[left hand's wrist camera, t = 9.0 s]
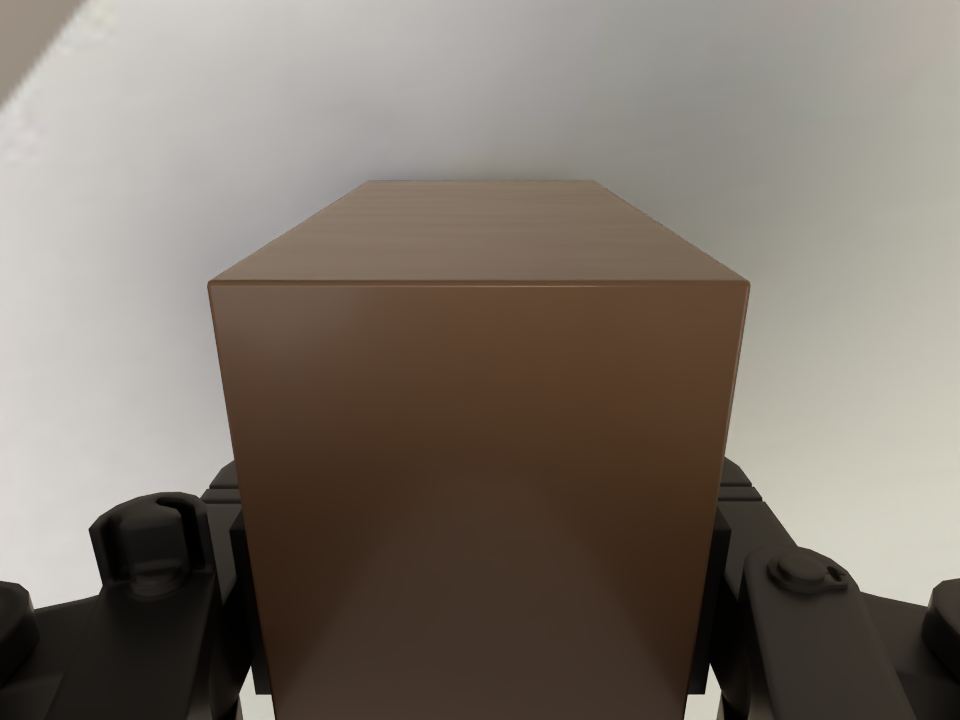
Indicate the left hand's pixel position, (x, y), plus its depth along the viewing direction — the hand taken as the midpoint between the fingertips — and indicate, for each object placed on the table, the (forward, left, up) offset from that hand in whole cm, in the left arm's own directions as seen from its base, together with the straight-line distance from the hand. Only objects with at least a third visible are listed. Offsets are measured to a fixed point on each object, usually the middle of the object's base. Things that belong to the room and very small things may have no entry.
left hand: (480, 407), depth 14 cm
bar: (+23, +25, -1) cm, 34 cm away
